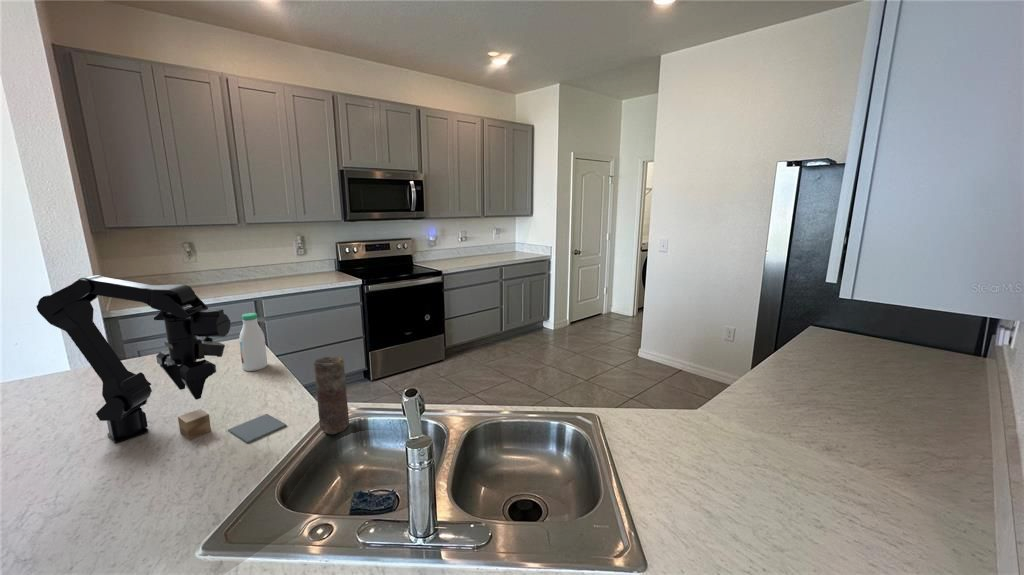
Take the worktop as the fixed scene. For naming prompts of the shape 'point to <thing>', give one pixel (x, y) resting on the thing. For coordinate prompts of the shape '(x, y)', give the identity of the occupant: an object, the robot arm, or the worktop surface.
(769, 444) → the worktop surface
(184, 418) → the walnut cube
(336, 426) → the candle
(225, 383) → the worktop surface
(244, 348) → the milk bottle
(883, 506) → the worktop surface
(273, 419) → the slate pad
